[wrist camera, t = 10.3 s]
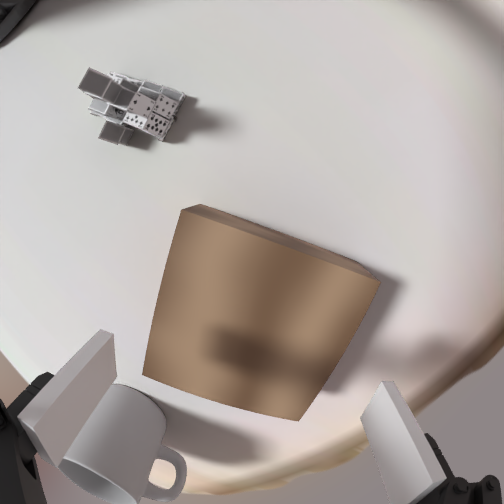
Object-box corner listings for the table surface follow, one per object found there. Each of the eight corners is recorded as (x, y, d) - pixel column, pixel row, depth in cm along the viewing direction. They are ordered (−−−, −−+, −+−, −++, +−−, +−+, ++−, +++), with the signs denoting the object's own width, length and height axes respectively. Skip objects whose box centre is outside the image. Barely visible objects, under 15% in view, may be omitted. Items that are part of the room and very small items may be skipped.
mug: (94, 411, 25) (55, 473, 14) (102, 369, 23) (48, 441, 12) (183, 455, 26) (165, 526, 15) (209, 422, 24) (190, 511, 13)
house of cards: (62, 162, 19) (-2, 160, 11) (105, 71, 17) (52, 38, 9) (139, 203, 19) (80, 215, 12) (191, 99, 17) (155, 55, 10)
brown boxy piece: (162, 340, 22) (142, 374, 17) (201, 203, 19) (181, 209, 14) (293, 381, 22) (298, 421, 18) (354, 260, 20) (380, 282, 15)
